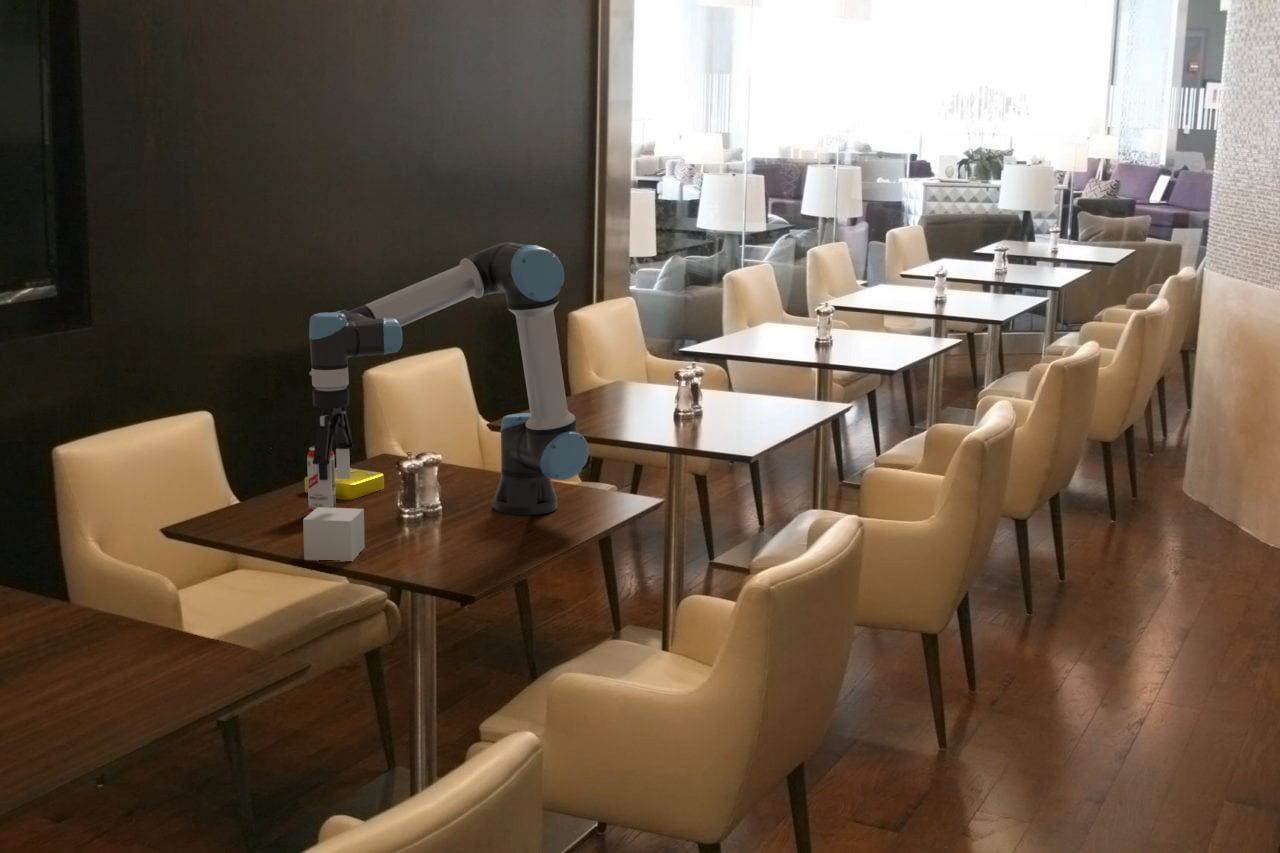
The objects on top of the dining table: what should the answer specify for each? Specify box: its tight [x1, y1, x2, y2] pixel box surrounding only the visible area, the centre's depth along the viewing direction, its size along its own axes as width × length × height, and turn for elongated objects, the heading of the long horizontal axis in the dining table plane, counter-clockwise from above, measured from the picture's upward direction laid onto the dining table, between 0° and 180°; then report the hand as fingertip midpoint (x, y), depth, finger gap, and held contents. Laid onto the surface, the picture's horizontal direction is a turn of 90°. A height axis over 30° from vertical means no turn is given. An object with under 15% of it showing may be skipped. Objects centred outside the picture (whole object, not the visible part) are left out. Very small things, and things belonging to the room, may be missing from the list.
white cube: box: [302, 507, 366, 562], centre depth 318 cm, size 10×10×9 cm
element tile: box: [304, 467, 385, 501], centre depth 373 cm, size 15×15×5 cm
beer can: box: [306, 445, 337, 514], centre depth 349 cm, size 6×6×16 cm
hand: (334, 486), depth 316 cm, fingers open, 13 cm apart
